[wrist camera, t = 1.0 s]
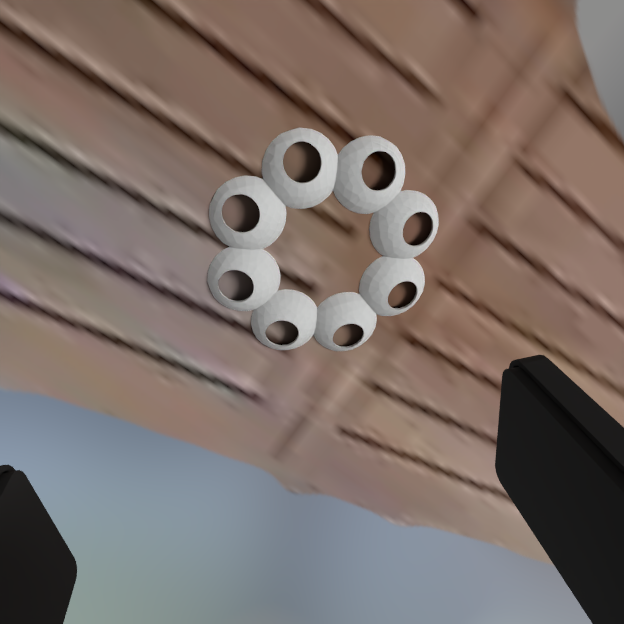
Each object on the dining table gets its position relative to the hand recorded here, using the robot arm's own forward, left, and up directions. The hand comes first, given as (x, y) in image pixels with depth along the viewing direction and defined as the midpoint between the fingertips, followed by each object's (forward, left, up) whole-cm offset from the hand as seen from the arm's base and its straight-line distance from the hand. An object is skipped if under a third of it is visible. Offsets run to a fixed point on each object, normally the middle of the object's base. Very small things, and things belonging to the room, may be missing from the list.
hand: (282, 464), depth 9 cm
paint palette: (0, +9, -30) cm, 31 cm away
